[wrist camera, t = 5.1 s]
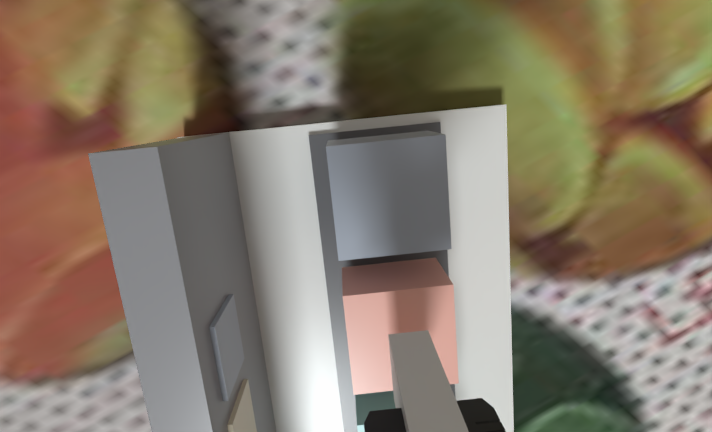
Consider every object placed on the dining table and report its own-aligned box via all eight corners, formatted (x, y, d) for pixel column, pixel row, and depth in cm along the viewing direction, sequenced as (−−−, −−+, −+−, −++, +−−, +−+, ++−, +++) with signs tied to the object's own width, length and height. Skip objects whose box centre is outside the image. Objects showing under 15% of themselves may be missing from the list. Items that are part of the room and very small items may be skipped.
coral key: (351, 352, 23) (353, 395, 19) (341, 267, 22) (342, 296, 18) (440, 342, 23) (458, 383, 20) (435, 257, 22) (453, 284, 19)
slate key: (338, 237, 22) (338, 261, 18) (328, 140, 21) (325, 146, 17) (433, 227, 22) (451, 249, 18) (427, 130, 21) (445, 134, 17)
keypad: (254, 526, 28) (210, 742, 19) (184, 136, 23) (70, 155, 13) (509, 497, 29) (597, 695, 19) (499, 104, 23) (614, 100, 14)
